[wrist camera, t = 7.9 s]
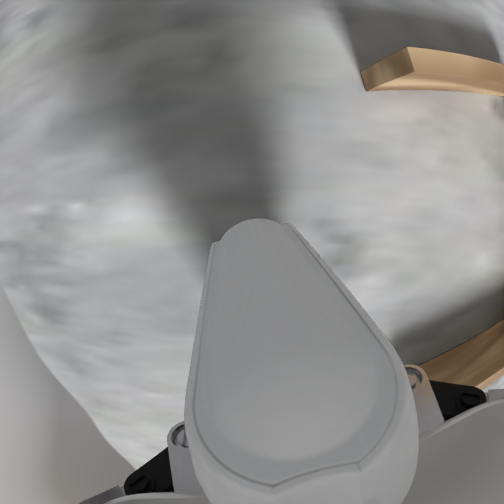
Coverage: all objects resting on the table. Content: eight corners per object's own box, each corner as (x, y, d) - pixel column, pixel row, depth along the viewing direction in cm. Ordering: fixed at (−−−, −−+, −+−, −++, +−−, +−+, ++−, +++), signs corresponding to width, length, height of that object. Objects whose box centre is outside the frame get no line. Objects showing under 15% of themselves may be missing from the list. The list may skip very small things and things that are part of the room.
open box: (360, 72, 13) (406, 46, 9) (509, 84, 13) (551, 81, 9) (389, 387, 21) (414, 427, 16) (507, 324, 21) (536, 347, 16)
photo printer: (324, 374, 16) (395, 559, 5) (255, 392, 16) (281, 588, 5) (293, 205, 13) (531, 429, 1) (201, 230, 13) (105, 543, 1)
